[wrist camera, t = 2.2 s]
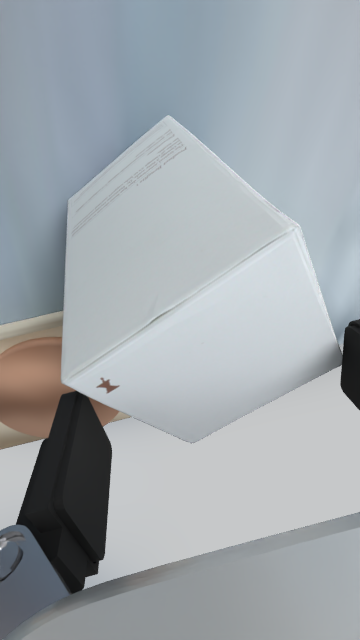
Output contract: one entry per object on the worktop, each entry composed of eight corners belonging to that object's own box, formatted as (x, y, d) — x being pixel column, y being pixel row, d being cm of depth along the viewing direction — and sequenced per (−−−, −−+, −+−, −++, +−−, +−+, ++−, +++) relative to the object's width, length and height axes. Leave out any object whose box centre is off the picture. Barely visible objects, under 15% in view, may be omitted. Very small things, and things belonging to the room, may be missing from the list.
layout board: (-91, 346, 22) (-117, 376, 19) (258, 265, 23) (275, 284, 20) (-9, 433, 28) (-22, 464, 26) (259, 368, 29) (272, 391, 27)
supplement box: (143, 279, 22) (188, 450, 13) (63, 198, 17) (47, 388, 8) (231, 218, 20) (351, 367, 11) (171, 107, 15) (303, 220, 6)
